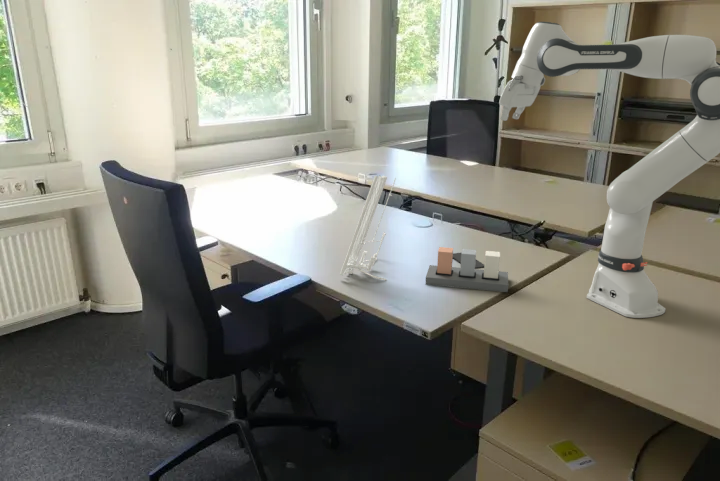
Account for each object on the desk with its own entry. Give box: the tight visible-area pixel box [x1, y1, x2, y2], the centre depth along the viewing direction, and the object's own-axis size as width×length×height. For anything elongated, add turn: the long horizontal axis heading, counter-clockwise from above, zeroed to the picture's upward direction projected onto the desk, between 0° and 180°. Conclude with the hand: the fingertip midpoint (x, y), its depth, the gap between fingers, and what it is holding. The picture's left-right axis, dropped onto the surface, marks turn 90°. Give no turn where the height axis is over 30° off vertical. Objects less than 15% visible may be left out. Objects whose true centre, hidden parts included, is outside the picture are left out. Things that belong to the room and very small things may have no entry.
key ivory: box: [483, 250, 501, 279], centre depth 172 cm, size 4×4×8 cm
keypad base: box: [425, 264, 509, 293], centre depth 175 cm, size 26×11×2 cm, turn 76°
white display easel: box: [339, 175, 397, 281], centre depth 180 cm, size 24×14×35 cm, turn 148°
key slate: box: [459, 248, 477, 276], centre depth 174 cm, size 4×4×8 cm
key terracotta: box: [436, 246, 454, 274], centre depth 175 cm, size 4×4×8 cm
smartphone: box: [453, 252, 485, 269], centre depth 194 cm, size 7×1×15 cm
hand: (509, 119), depth 169 cm, fingers open, 8 cm apart
